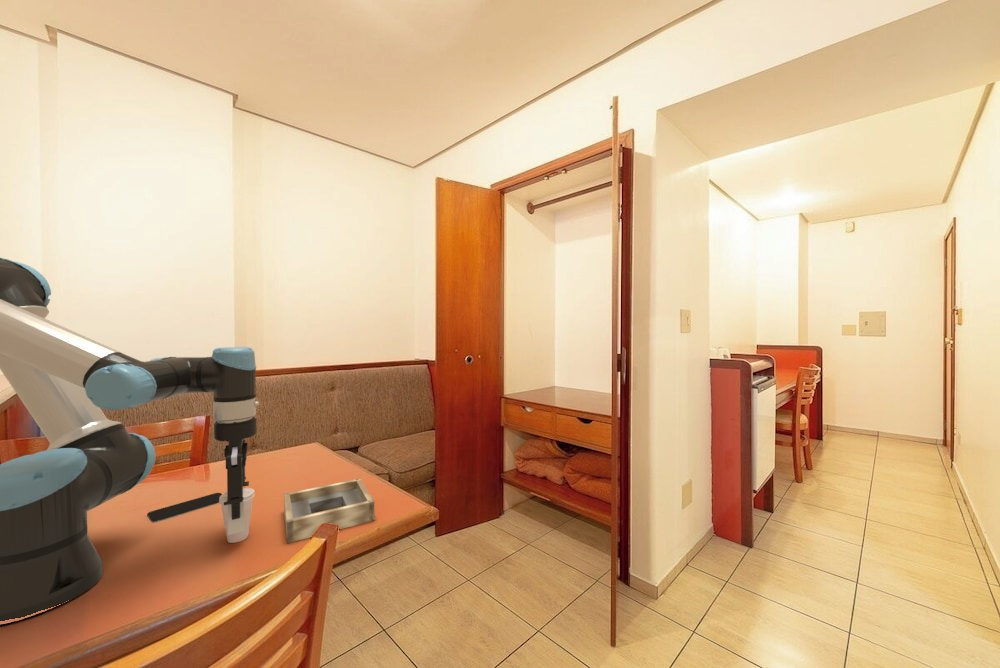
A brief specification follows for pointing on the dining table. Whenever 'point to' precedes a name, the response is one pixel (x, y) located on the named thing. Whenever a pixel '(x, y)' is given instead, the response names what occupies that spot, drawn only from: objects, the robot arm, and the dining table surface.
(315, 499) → the socket box
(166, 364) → the robot arm
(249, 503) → the smoothie
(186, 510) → the smartphone
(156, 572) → the dining table surface
